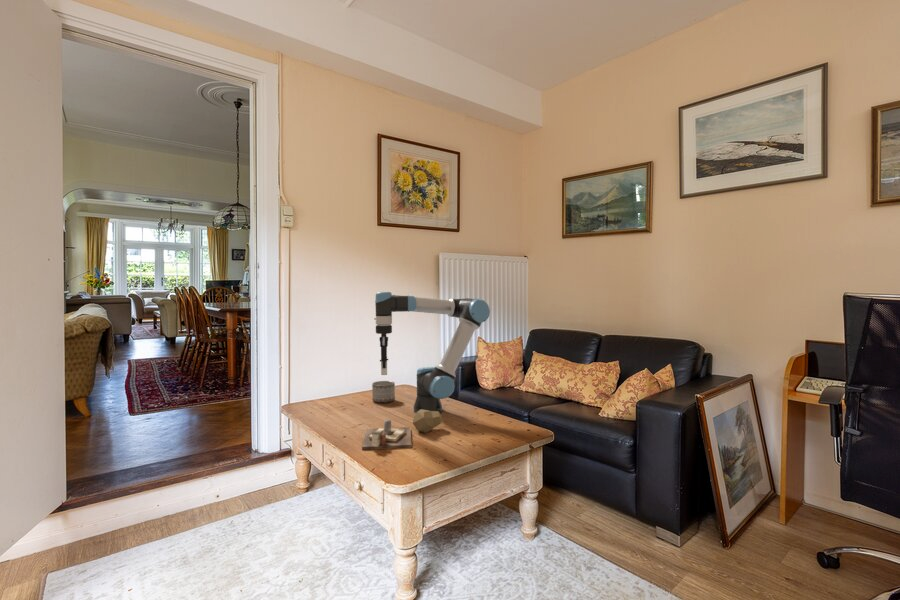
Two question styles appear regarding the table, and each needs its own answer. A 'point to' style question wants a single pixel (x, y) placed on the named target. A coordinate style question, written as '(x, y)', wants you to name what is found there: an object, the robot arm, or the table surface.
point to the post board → (389, 444)
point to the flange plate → (393, 438)
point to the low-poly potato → (426, 420)
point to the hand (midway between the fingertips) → (384, 374)
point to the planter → (383, 391)
